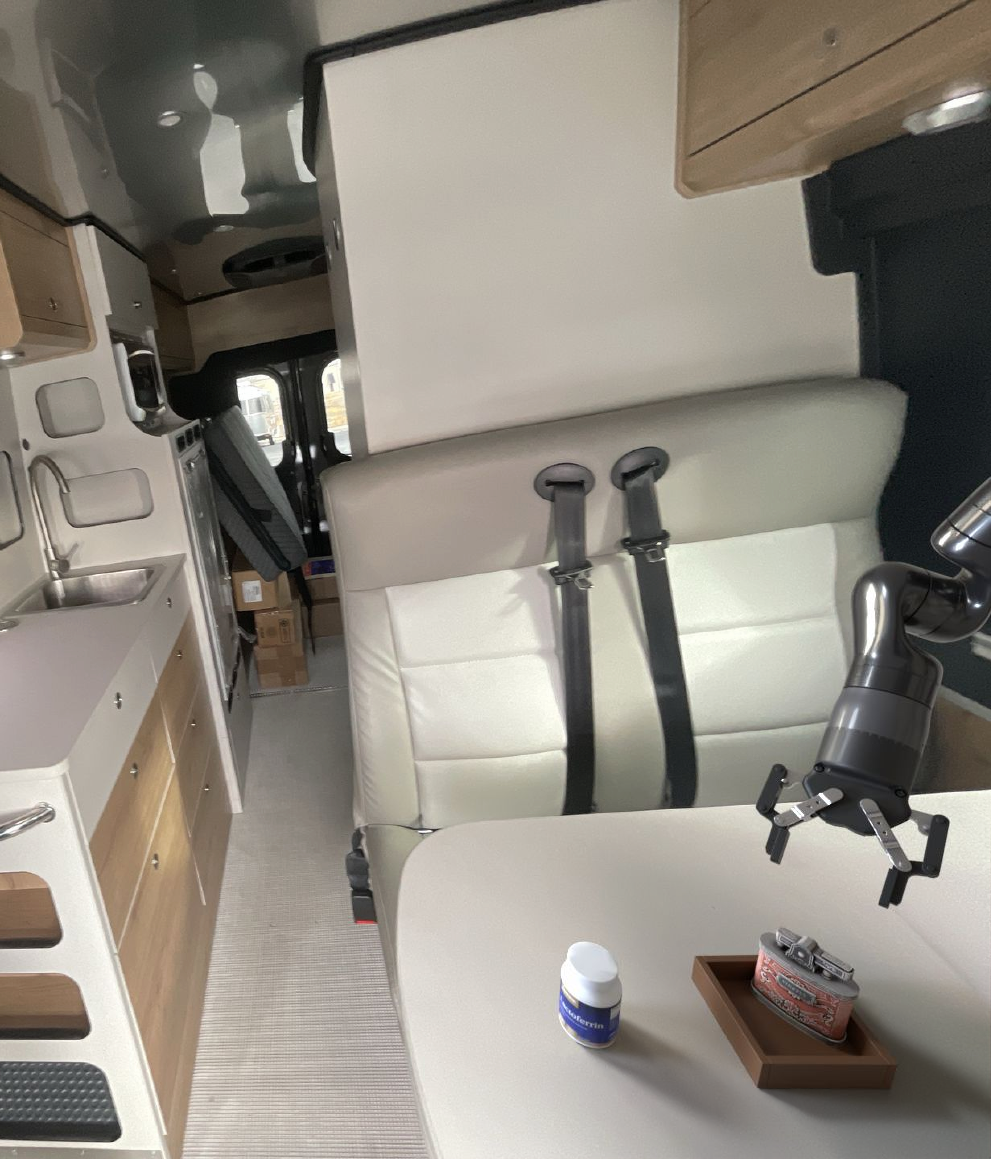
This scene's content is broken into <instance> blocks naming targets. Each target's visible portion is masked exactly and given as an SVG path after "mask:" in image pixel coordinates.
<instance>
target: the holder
mask: <svg viewBox="0 0 991 1159" xmlns="http://www.w3.org/2000/svg"><path fill="white" fill-rule="evenodd" d="M758 956H759V954H730V955H729V954H728V955H726V954H724V955H723V954H721V955H694V959H693V965H692V972H691V976H690V977H691V978H690V979H691V980H692V982H693V983H694V985H695V987H696V988H697V990H698V992H699V994H700V995H701V997H702V998H703V1000H704V1002H705V1004H706V1005H707V1007H708V1008H709V1010H710V1012H711V1013H712V1015H713V1017H714V1019H715V1020H716V1022H717V1023H718V1025H719V1027H720V1029H721V1030H722V1032H723V1034H724V1035H725V1037H726V1038H727V1040H728V1042H729V1043H730V1045H731V1047H732V1048H733V1050H734V1052H735V1053H736V1055H737V1057H738V1059H739V1060H740V1062H741V1063H742V1065H743V1067H744V1068H745V1070H746V1072H747V1073H748V1075H749V1077H750V1078H751V1080H752V1082H753V1083H754V1085H755V1087H756V1089H757V1088H758V1089H841V1090H842V1089H843V1090H844V1089H845V1090H846V1089H849V1090H850V1089H852V1090H853V1089H854V1090H855V1089H857V1090H858V1089H859V1090H863V1089H864V1090H891V1087H892V1085H893V1082H894V1079H895V1076H896V1073H897V1070H898V1068H899V1063H898V1062H897V1061H896V1059H895V1058H894V1057H893V1056H892V1055H891V1053H890V1052H889V1050H887V1049H886V1047H885V1046H884V1045H883V1044H882V1042H881V1041H880V1040H879V1039H878V1037H877V1036H876V1035H875V1033H874V1032H873V1031H872V1030H871V1028H870V1027H869V1025H867V1024H866V1023H865V1021H864V1020H863V1018H862V1017H861V1016H860V1014H858V1012H857V1011H856V1010H855V1009H854V1008H853V1007H852V1010H851V1013H850V1017H849V1020H848V1023H847V1027H846V1030H845V1031H846V1040H845V1043H844V1045H843V1046H841V1047H830V1046H828V1045H826V1044H824V1043H822V1042H820V1041H818V1040H817V1039H815V1038H813V1037H811V1036H809V1035H807V1034H806V1033H804V1032H803V1031H801V1030H799V1029H798V1028H796V1027H795V1026H793V1025H791V1024H790V1023H788V1022H787V1021H785V1020H784V1019H783V1018H781V1017H780V1016H779V1015H777V1014H776V1013H775V1012H773V1011H772V1010H771V1009H769V1008H768V1007H767V1006H766V1005H765V1004H763V1003H762V1002H761V1001H760V1000H759V999H757V998H756V997H755V996H754V995H753V994H752V992H751V990H750V984H751V980H752V978H754V976H755V971H756V966H757V961H758Z"/></svg>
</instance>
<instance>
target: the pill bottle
mask: <svg viewBox="0 0 991 1159" xmlns="http://www.w3.org/2000/svg"><path fill="white" fill-rule="evenodd" d="M620 979H621V978H620V977H619V965H618V962H617V960H616V958H615V957H614V955H613V954H612V953H611V952H610V951H609V950H608V949H606V948H605V947H604V946H601V945H600V944H597V943H594V942H591V941H579V942H575V943H574V944H572V945H571V946H570V947H569V948H568V952H567V955H566V960H565V962H564V963H563V964H562V966H561V970H560V982H559V983H560V984H559V996H558V997H559V999H558V1002H559V1003H558V1018H559V1023H560V1024H561V1026H562V1028H563V1030H564V1031H565V1033H566V1034H567V1035H568V1036H569V1037H570V1038H571V1039H572V1040H573V1041H575V1042H576V1043H578V1044H580V1045H582V1046H585V1047H587V1048H589V1049H595V1050H597V1049H604V1048H608V1047H610V1046H611V1045H613V1044H614V1042H615V1041H616V1039H617V1037H618V1033H619V1024H620V1017H621V1007H622V998H623V986H622V982H621V980H620Z"/></svg>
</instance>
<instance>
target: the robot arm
mask: <svg viewBox="0 0 991 1159" xmlns="http://www.w3.org/2000/svg"><path fill="white" fill-rule="evenodd" d="M930 543H931V546H932V547H933V549H934V550H935V551H936V552H937V553H938V554H939V555H940V556H942V557H944V558H945V559H947V560H948V561H950V562H951V563H953V564H955V565H957V566H958V567H959V568H961V570H960V571H959V573H958V574H957V575H955V576H954V577H952V576H951V577H950V576H947V575H944V574H941V573H938V572H935V571H932V570H929V569H925V568H922V567H920V566H917V565H914V564H911V563H907V562H902V561H896V560H887V561H882V562H879V563H876V564H874V565H872V566H870V567H869V568H867V569H866V570H865V571H863V572H862V573H861V575H859V577H858V578H857V579H856V581H855V583H854V585H853V587H852V589H851V594H850V598H849V599H850V601H849V612H850V626H851V651H852V655H851V656H852V657H851V662H850V664H849V668H848V671H847V673H846V676H845V679H844V682H843V685H842V689H841V691H840V694H839V695H838V697H837V699H836V701H835V702H834V704H833V707H832V709H831V711H830V714H829V718H828V721H827V723H826V724H827V725H826V727H825V730H824V733H823V736H822V739H821V742H820V745H819V747H818V751H817V754H816V756H815V760H814V763H813V765H812V768H811V770H810V771H809V772H807V773H806V774H802V773H799V772H797V771H794V770H791V769H789V768H786V766H785V765H784V764H781V763H774V764H773V765H772V766H771V769H770V771H769V774H768V776H767V779H766V781H765V783H764V785H763V787H762V790H761V792H760V794H759V797H758V799H757V801H756V804H755V810H756V811H757V813H758V814H759V815H760V816H761V817H763V818H765V819H766V820H768V821H769V822H770V824H771V829H770V832H769V833H768V834H769V835H768V837H767V839H766V843H765V846H764V849H765V853H766V854H767V855H768V856H770V857H769V861H770V863H771V862H772V863H774V864H776V865H778V866H780V865H781V863H782V860H783V857H784V854H785V850H786V848H787V846H788V842H789V839H790V836H791V832H790V831H789V830H790V829H792V828H794V827H796V826H799V825H801V824H804V823H808V822H810V821H812V820H814V819H816V818H819V819H820V820H822V821H823V822H824V823H825V824H827V825H830V826H833V827H837V828H842V829H846V830H848V831H850V832H851V833H854V834H856V835H859V836H861V837H864V838H865V837H876V839H877V841H878V843H879V844H880V846H881V847H882V850H883V851H884V852H885V854H886V856H887V857H888V859H889V861H890V863H891V864H892V867H891V868H890V867H888V870H887V874H886V877H885V880H884V883H883V886H882V890H881V893H880V896H879V899H878V903H877V904H878V905H877V906H879V907H882V908H884V909H887V910H889V908H890V906H891V905H892V906H895V907H897V906H899V905H900V904H901V903H902V901H903V898H904V894H905V891H906V889H907V884H908V881H909V879H910V878H912V877H923V878H929V879H937V878H938V877H940V874H941V873H940V872H941V869H942V864H943V859H944V855H945V850H946V849H945V848H946V845H947V839H948V834H949V828H950V823H951V821H950V819H949V818H948V817H947V816H946V815H944V814H931V813H928V812H922V811H921V810H920V811H919V810H916V809H912V808H911V806H910V803H909V802H910V801H909V800H910V797H911V793H912V789H913V787H914V782H915V780H916V778H917V773H918V770H919V767H920V763H921V760H922V757H923V754H924V753H925V751H926V749H927V740H928V738H929V734H930V728H931V718H932V713H933V712H932V711H933V708H934V705H935V702H936V699H937V696H938V693H939V689H940V687H941V684H942V679H943V677H944V676H943V675H944V666H943V665H942V663H941V662H940V661H939V660H938V659H937V657H935V656H933V655H932V654H930V653H928V652H927V651H926V650H924V649H922V648H920V647H919V646H918V645H916V644H914V643H913V642H912V641H911V640H910V639H909V637H908V634H909V635H913V636H915V637H917V638H921V639H923V640H927V641H930V642H934V643H940V644H941V643H943V644H946V643H953V642H957V641H960V640H964V639H966V638H968V637H970V636H972V635H974V634H975V633H977V632H978V631H979V630H980V629H982V627H983V626H984V625H985V624H986V623H987V621H988V620H989V618H990V617H991V476H989V477H988V478H987V479H986V480H985V481H984V482H982V484H981V485H979V486H978V487H977V488H976V489H975V490H974V491H973V492H972V493H971V494H970V495H969V496H968V497H966V499H965V500H963V502H962V503H961V504H960V505H959V506H958V507H957V508H955V509H954V511H953V512H952V513H950V514H949V516H947V518H945V519H944V520H943V521H942V522H941V523H940V524H939V526H937V527H936V529H935V530H934V532H933V533H932V534H931V537H930ZM795 785H802V789H803V790H804V792H805V794H806V796H807V798H808V799H806V800H804V801H802V802H800V803H798V804H795V805H794V806H793V807H792V808H790V809H787V810H785V811H783V812H781V813H780V812H779V811H777V810H776V809H775V808H776V806H777V803H778V802H779V799H780V797H781V795H782V792H783V790H784V789H785V790H790V789H793V787H794V786H795ZM909 820H910V821H913V822H914V823H915V824H916V825H917V831H918V833H919V834H921V835H923V836H925V837H927V839H926V845H925V849H924V853H923V859H922V861H921V860H912V859H909V858H908V856H907V854H906V853H905V852H904V850H903V848H902V846H901V844H900V842H899V840H898V838H897V837H896V835H895V834H894V832H893V830H892V829H894V828H896V827H898V826H900V825H902V824H904V823H907V822H908V821H909Z"/></svg>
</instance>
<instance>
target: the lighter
mask: <svg viewBox="0 0 991 1159" xmlns="http://www.w3.org/2000/svg"><path fill="white" fill-rule="evenodd" d="M758 946H759V951H758V955H759V956H758V961H757V966H756V971H755V976H754V978H752V980H751V984H750V990H751V992H752V994H753V995H754V996H755V997H756V998H757V999H759V1000H760V1001H761V1002H762V1003H763V1004H765V1005H766V1006H767V1007H768V1008H769V1009H771V1010H772V1011H773V1012H775V1013H776V1014H777V1015H779V1016H780V1017H781V1018H783V1019H784V1020H785V1021H787V1022H788V1023H790V1024H791V1025H793V1026H795V1027H796V1028H798V1029H799V1030H801V1031H803V1032H804V1033H806V1034H807V1035H809V1036H811V1037H813V1038H815V1039H817V1040H818V1041H820V1042H822V1043H824V1044H826V1045H828V1046H830V1047H841V1046H843V1045H844V1043H845V1040H846V1031H845V1030H846V1027H847V1023H848V1020H849V1017H850V1013H851V1010H852V1008H853V1006H854V1003H855V1001H857V999H858V998H859V995H860V991H861V990H860V986H859V984H858V983H857V982H856V981H855V980H854V979H853V977H854V975H855V968H854V967H853V966H852V965H851V964H849V963H848V962H845V961H844V960H842V959H840V958H839V957H838V956H836V955H835V954H832V953H830V952H829V951H827V950H824V949H822V948H821V947H820V946H819V943H818V942H817V941H816V940H815V939H814V938H812V937H810V936H808V935H802V936H801V935H799V934H797V933H795V932H794V931H792V930H790V929H788V928H787V927H786V926H779V927H777V929H776V933H774V932H764V933H762V934H760V937H759V941H758Z"/></svg>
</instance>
